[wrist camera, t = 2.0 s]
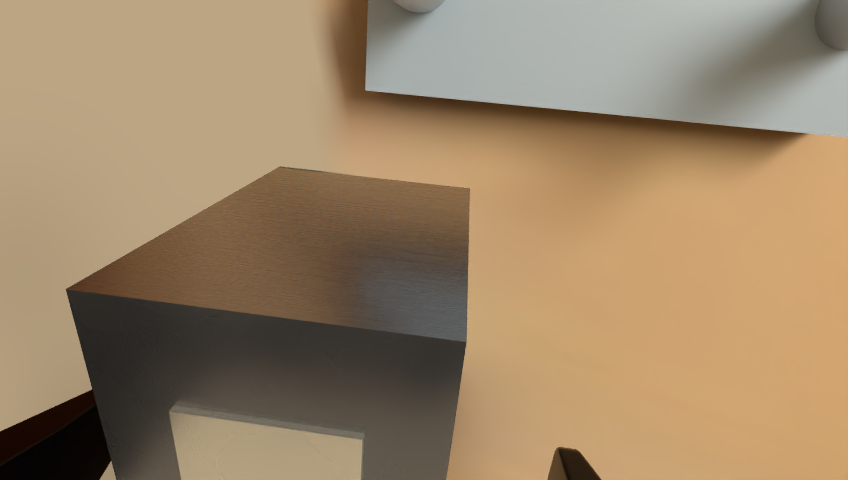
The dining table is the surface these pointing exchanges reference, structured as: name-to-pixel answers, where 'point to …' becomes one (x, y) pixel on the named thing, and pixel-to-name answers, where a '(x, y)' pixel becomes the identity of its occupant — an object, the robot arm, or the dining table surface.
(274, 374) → the block
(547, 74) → the tray
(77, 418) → the robot arm
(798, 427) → the dining table surface
